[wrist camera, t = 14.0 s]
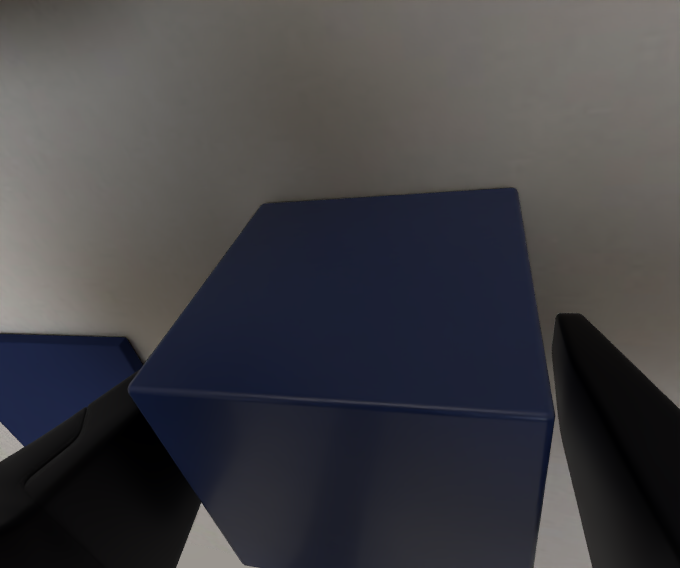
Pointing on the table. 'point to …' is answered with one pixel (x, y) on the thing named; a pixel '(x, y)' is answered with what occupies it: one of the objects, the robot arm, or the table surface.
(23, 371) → the blue mat
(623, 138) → the table surface
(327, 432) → the blue block
